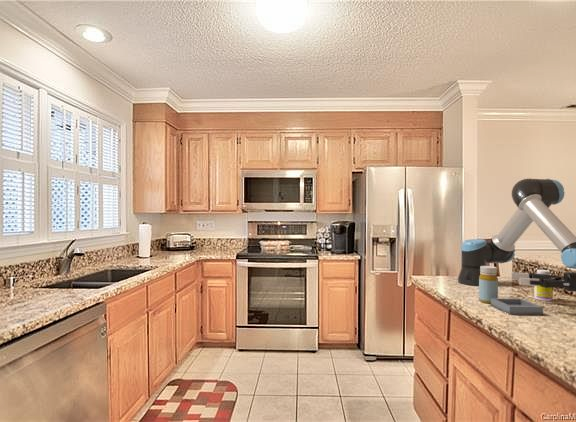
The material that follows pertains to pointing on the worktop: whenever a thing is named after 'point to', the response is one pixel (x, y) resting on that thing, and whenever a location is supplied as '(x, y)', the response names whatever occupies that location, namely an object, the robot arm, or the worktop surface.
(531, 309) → the tray
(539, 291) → the supplement bottle
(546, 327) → the worktop surface
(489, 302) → the bottle
